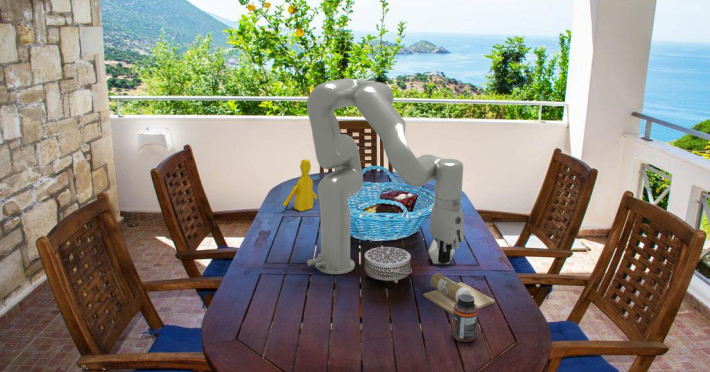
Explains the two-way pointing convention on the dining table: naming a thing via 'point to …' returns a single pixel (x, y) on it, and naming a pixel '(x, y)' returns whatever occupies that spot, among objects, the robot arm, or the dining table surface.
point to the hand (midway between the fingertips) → (443, 262)
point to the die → (434, 253)
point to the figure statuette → (303, 189)
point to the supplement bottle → (464, 318)
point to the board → (449, 302)
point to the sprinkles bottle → (448, 286)
